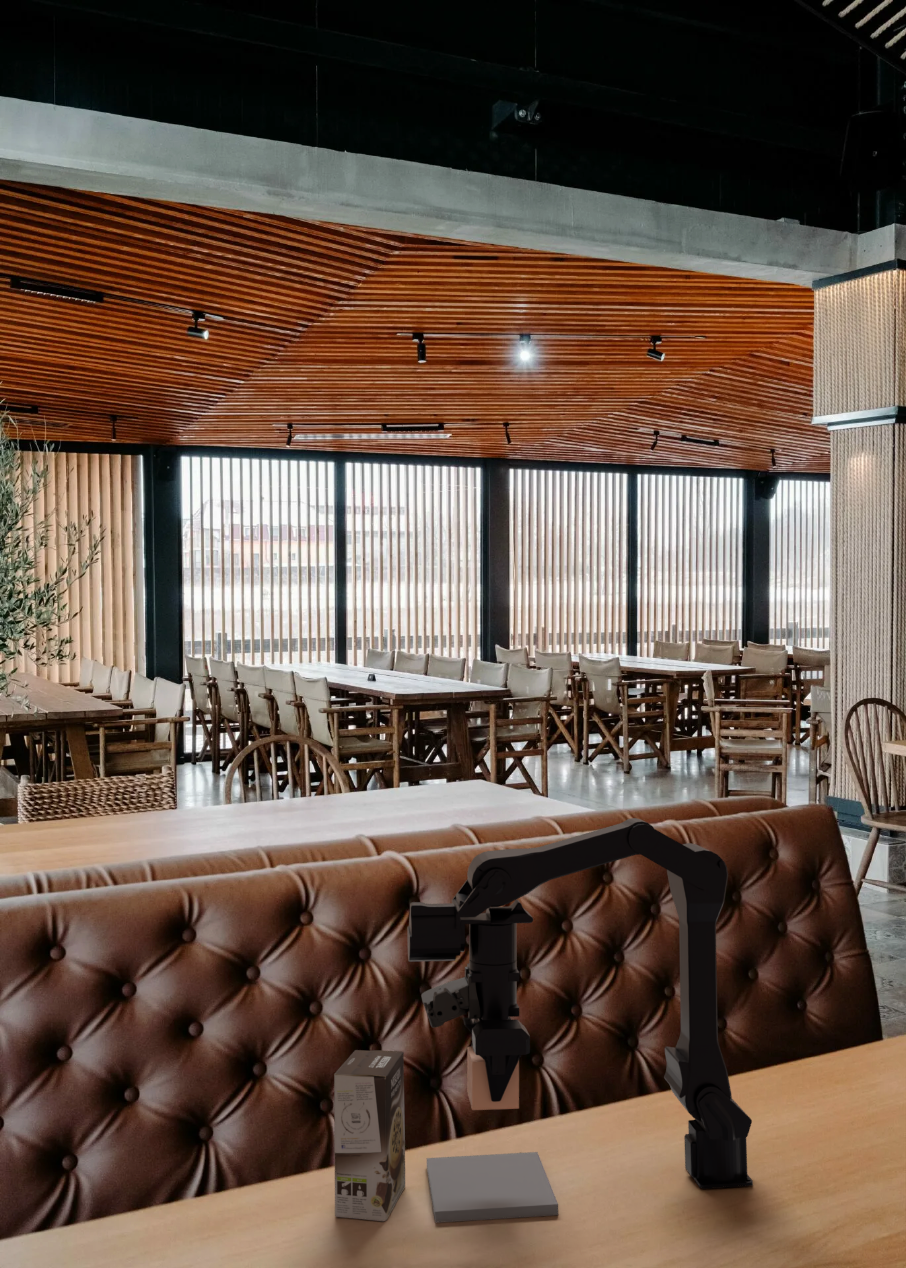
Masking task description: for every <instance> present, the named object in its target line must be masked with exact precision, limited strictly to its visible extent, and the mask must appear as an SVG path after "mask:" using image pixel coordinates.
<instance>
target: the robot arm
mask: <svg viewBox="0 0 906 1268" xmlns="http://www.w3.org/2000/svg"><path fill="white" fill-rule="evenodd" d="M637 855H641V856H642V857H644V858H647V859H648V860H649V861H651V862H654V863H655V864H656V865H658V866H659V867H662V868H664V869H665V870H666V874H667V878H668V883H669V884H668V885H669V889H670V894H671V897H672V901H673V903H674V907H675V910H676V914H677V916H678V922H679V923H678V929H679V988H680V989H679V991H680V992H679V995H680V996H679V998H680V999H679V1000H680V1002H679V1003H680V1004H679V1005H680V1010H679V1012H680V1034H679V1036H678V1037H679V1038H678V1040H677V1042H676V1045H675V1047H673V1046H664V1055H665V1060H666V1067H665V1068H666V1070H665V1073H664V1076H663V1078H664V1080H665V1081H666V1082H667V1083H668V1085H669V1086H670V1089H671V1092H672V1093H673V1095H674V1096H675V1098H676V1099H677V1100H678V1101H679V1103H680V1104H681V1106H683V1107H684V1109H685V1110H686V1111H687V1113H688V1114H690V1116H691V1117H692V1118H693V1119H689V1120H687V1123H688V1127H687V1128H688V1133H685V1135H683V1136H684V1168H685V1169H686V1171H687V1172H688V1174H689V1175H690V1177H692V1178H693V1181H694V1182H695V1183H696V1184H697V1186H698V1187H699V1188H701V1189H705V1190H706V1189H721V1188H723V1189H724V1188H735V1187H736V1188H737V1187H738V1188H739V1187H751V1186H754V1184H753V1183H754V1182H753V1181H754V1180H753V1179H752V1178H751V1176H750V1175H749V1174H748V1158H747V1157H748V1149H747V1137H748V1136H749V1134H750V1129H751V1126H752V1122H753V1121H752V1119H751V1117H750V1116H749V1115H748V1114H747V1113H746V1112H745V1111H744V1110H743V1109H742V1108H741V1106H739V1105H738V1103H737V1102H736V1101H735V1100H734V1099H733V1096H732V1090H731V1085H730V1084H731V1083H730V1080H729V1078H730V1077H729V1072H728V1069H727V1065H726V1062H725V1060H724V1056H723V1053H722V1050H721V1047H720V1043H719V1037H718V1035H719V1033H718V1032H719V1030H718V1029H719V1028H718V1026H719V1025H718V978H717V977H718V976H717V975H718V974H717V973H718V971H717V965H718V964H717V922H718V920H719V919H718V918H719V916H720V913H721V911H722V909H723V906H724V903H725V898H726V893H727V887H728V886H727V885H728V879H729V871H728V867H727V864H726V862H725V860H724V859H722V857H720V855H719V854H717V853H716V852H713V851H711V850H709V849H708V848H705V847H703V846H701V845H698V844H696V843H690V842H689V843H683V844H682V843H681V842H679V841H677V840H675V839H673V838H672V837H670V836H668V835H666V834H665V833H663V832H662V831H659V830H658V829H655V827H654V826H653V825H651V824H650V823H649V822H647V821H645V820H643V819H641V818H636V817H633V818H628V819H626V820H624V821H622V822H620V823H617V824H614V825H611V826H607V827H603V828H599V829H597V830H593V831H589V832H586V833H582V834H580V835H575V836H572V837H568V838H566V839H562V840H559V841H555V842H551V843H549V844H544V845H541V846H537V847H530V848H505V849H497V850H496V849H495V850H487V851H483V852H481V853H478V854H477V855H475V856H474V857H473V858H472V860H471V862H470V864H469V865H468V869H467V874H466V875H467V879H466V880H465V881H464V883H463V884H462V886H461V887H460V888H459V889H458V891H457V892H456V893H455V895H454V896H453V898H452V899H451V903H425V902H419V901H416V902H415V901H413V902H410V904H409V915H408V916H409V918H408V919H409V920H408V921H409V922H408V925H407V928H406V929H407V930H406V931H407V932H406V933H407V934H406V935H407V937H406V938H407V939H406V940H407V959H408V962H451V961H452V962H453V961H456V958H457V956H460V957H461V953H464V952H465V949H466V947H465V946H466V930H465V929H466V928H465V927H466V925H469V927H468V933H469V934H468V938H469V939H468V940H469V941H468V945H469V946H468V955H469V956H468V958H469V959H468V963H466V966H464V977H461V978H457V979H454V980H450V981H448V982H446V983H443V984H440V985H438V986H436V987H432V988H430V989H427V990H425V991H423V992H422V993H421V995H420V996H421V1002H422V1004H423V1008H424V1009H425V1013H426V1015H427V1018H428V1021H429V1024H430V1026H431V1028H439V1027H441V1026H444V1024H445V1023H446V1022H450V1021H452V1020H455V1019H456V1018H457V1019H458V1018H460V1017H462V1016H464V1015H467V1014H468V1016H467V1017H464V1018H462V1020H463V1024H464V1026H465V1027H466V1028H467V1030H468V1031H469V1032H470V1033H471V1041H472V1042H470V1044H471V1047H473V1050H474V1052H475V1055H479V1056H480V1057H482V1058H483V1059H484V1062H485V1068H486V1073H487V1079H488V1085H489V1091H490V1096H491V1100H492V1101H493V1102H498V1101H501V1099H502V1097H503V1095H504V1092H505V1090H506V1088H507V1085H508V1083H509V1081H510V1078H511V1076H512V1074H513V1072H514V1070H515V1067H516V1065H517V1063H518V1061H519V1062H520V1059H521V1057H522V1056H525V1055H529V1054H530V1053H531V1035H530V1033H529V1032H528V1030H527V1028H526V1026H525V1025H524V1024H523V1023H522V1022H520V1020H518V1019H517V1018H516V1017H520V1006H519V1004H518V1003H517V991H518V990H517V988H518V987H517V982H520V971H519V970H518V967H517V966H518V965H517V962H518V961H517V957H518V956H517V953H518V951H517V947H518V946H517V944H518V943H517V941H518V940H517V929H518V928H517V925H518V924H531V923H533V922H534V918H533V916H532V915H531V913H530V912H529V911H527V909H525V908H524V906H523V905H522V902H520V900H519V899H520V898H522V897H524V896H526V895H528V894H530V893H531V892H532V891H534V890H536V889H537V888H538V887H540V886H541V885H543V884H545V883H548V882H549V881H551V880H554V879H558V878H562V877H565V876H569V875H572V874H575V873H579V872H583V871H585V870H588V869H592V868H596V867H598V866H599V867H600V866H602V865H606V864H609V863H613V862H617V861H619V860H623V859H627V858H630V857H634V856H637ZM512 902H513V903H512ZM510 903H511V904H510ZM509 904H510V905H509ZM506 905H509V906H506ZM512 1018H516V1019H512Z"/></svg>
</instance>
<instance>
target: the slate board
mask: <svg viewBox="0 0 906 1268" xmlns="http://www.w3.org/2000/svg"><path fill="white" fill-rule="evenodd" d="M426 1171H427V1172H426V1173H427V1180H428V1183H429V1184H428V1185H429V1186H428V1187H429V1192H430V1198H431V1205H432V1210H433V1218H434V1223H435V1224H436V1223H437V1224H438V1223H451V1222H453V1223H454V1222H468V1221H484V1220H499V1219H500V1220H501V1219H514V1218H515V1219H516V1218H518V1219H519V1218H530V1217H531V1218H534V1217H547V1216H548V1217H549V1216H550V1217H551V1216H559V1202H558V1200H557V1198H556V1196H555V1192H554V1190H553V1187H552V1185H551V1182H550V1179H549V1177H548V1176H547V1172H546V1170H545V1167H544V1164H543V1162H542V1159H541V1157H540V1154H539V1153H538V1151H530V1152H511V1153H494V1154H478V1155H473V1154H472V1155H460V1156H456V1155H455V1156H441V1157H427V1158H426Z"/></svg>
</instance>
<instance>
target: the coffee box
mask: <svg viewBox="0 0 906 1268" xmlns="http://www.w3.org/2000/svg"><path fill="white" fill-rule="evenodd" d="M404 1053H405V1052H404V1051H403V1050H402V1051H399V1050H374V1049H373V1050H363V1049H362V1050H361V1049H359V1050H358V1049H355V1050H354V1051H353V1052H352V1053H351V1054H350V1055H349V1057H348V1058H347V1059H346V1060H345V1061H344V1062H343V1063H342V1064H341V1066H340V1067H339V1068H338V1069H336V1072H335V1073H333V1075H334V1076H333V1077H334V1081H333V1083H334V1084H333V1086H334V1087H333V1090H334V1093H333V1095H334V1096H333V1098H334V1099H333V1101H334V1103H333V1104H334V1105H333V1106H334V1107H333V1110H334V1112H333V1113H334V1115H333V1117H334V1123H333V1124H334V1131H333V1133H334V1135H333V1136H334V1142H333V1143H334V1150H333V1151H334V1216H335V1217H337V1218H346V1219H347V1218H349V1219H357V1220H365V1221H366V1220H368V1221H376V1222H377V1221H378V1222H385V1221H387V1220H388V1218H389V1217H390V1214H391V1213H392V1211H393V1209H394V1207H395V1206H396V1204H397V1202H398V1201H399V1198H400V1197H401V1195H402V1193H403V1191H404V1189H405V1187H406V1147H405V1146H406V1140H405V1137H406V1135H405V1133H406V1132H405V1130H406V1129H405V1070H404V1069H405V1068H404V1067H405V1066H404V1064H405V1062H404V1056H405V1055H404Z"/></svg>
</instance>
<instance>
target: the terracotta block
mask: <svg viewBox="0 0 906 1268" xmlns="http://www.w3.org/2000/svg"><path fill="white" fill-rule="evenodd" d="M466 1052H467V1055H466V1057H467V1061H466V1062H467V1067H466V1069H467V1073H466V1074H467V1078H466V1079H467V1080H466V1081H467V1082H466V1083H467V1085H466V1086H467V1087H466V1088H467V1090H466V1091H467V1092H466V1093H467V1096H468V1100H469V1102H470V1103H469V1104H470V1107H471V1110H472V1111H483V1110H484V1111H485V1110H486V1111H487V1110H488V1111H489V1110H512V1109H513V1110H515V1109H520V1098H519V1097H520V1060H519V1061H518V1063H517V1065H516V1067H515V1070H514V1072H513V1074H512V1076H511V1078H510V1081H509V1083H508V1085H507V1088H506V1090H505V1092H504V1095H503V1097H502V1099H501V1101H498V1102H493V1101H492V1100H491V1096H490V1091H489V1085H488V1079H487V1073H486V1068H485V1062H484V1059H483V1058H482V1057H480V1056H479V1055H475V1052H474V1050H473V1047H472V1046H467V1051H466Z"/></svg>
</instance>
